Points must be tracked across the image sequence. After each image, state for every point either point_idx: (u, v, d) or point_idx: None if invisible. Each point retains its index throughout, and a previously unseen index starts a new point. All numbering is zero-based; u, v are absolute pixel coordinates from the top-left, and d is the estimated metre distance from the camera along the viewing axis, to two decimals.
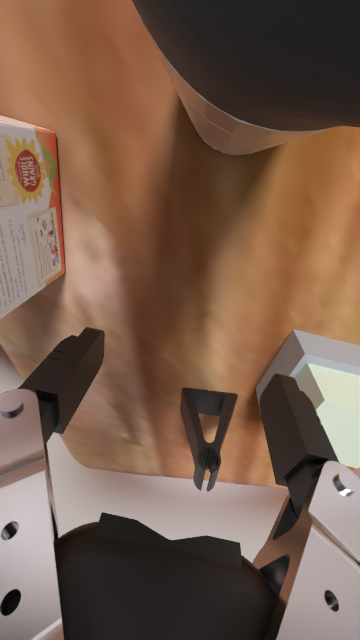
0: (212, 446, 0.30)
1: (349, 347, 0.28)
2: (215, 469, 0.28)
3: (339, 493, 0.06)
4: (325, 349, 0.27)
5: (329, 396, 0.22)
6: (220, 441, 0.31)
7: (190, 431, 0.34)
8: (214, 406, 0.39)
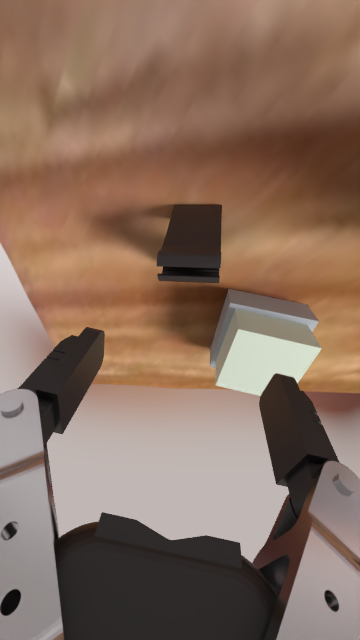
0: None
1: None
2: (218, 279, 0.22)
3: (339, 493, 0.06)
4: None
5: None
6: None
7: (197, 230, 0.25)
8: None
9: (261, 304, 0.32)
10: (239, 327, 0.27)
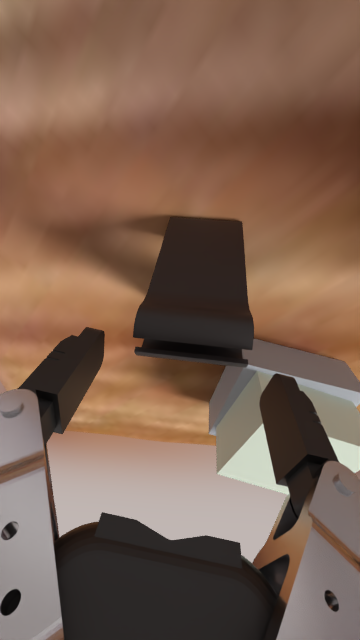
0: None
1: None
2: None
3: (339, 493, 0.06)
4: None
5: None
6: None
7: (205, 263, 0.15)
8: None
9: (287, 364, 0.23)
10: None
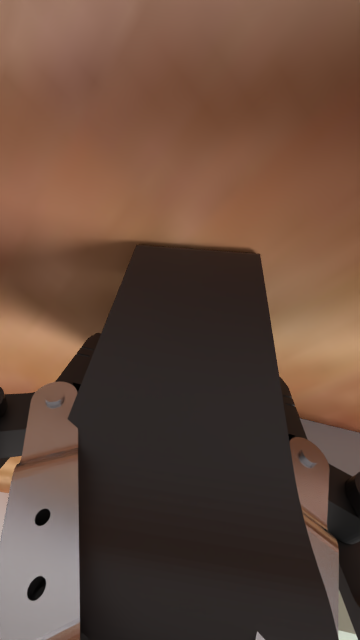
0: None
1: None
2: None
3: (301, 464, 0.07)
4: None
5: None
6: None
7: (195, 355, 0.07)
8: None
9: None
10: None
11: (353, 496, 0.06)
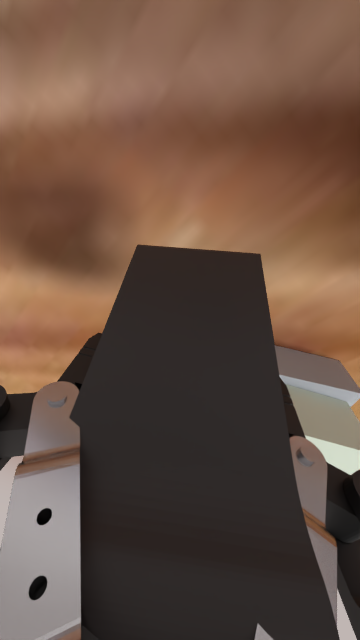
0: None
1: None
2: None
3: (299, 463, 0.07)
4: None
5: None
6: None
7: (195, 355, 0.07)
8: None
9: (282, 365, 0.22)
10: None
11: (351, 495, 0.06)
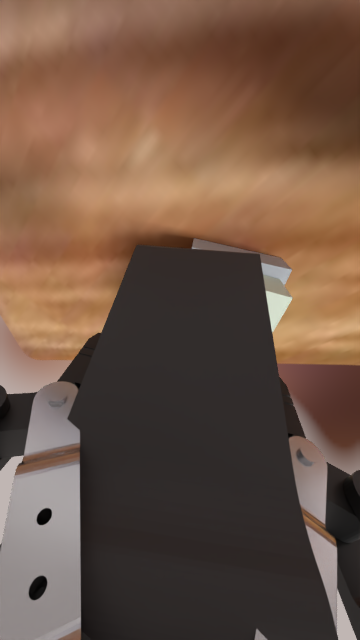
0: None
1: None
2: None
3: (299, 463, 0.07)
4: None
5: None
6: None
7: (194, 355, 0.07)
8: None
9: None
10: None
11: (351, 495, 0.06)
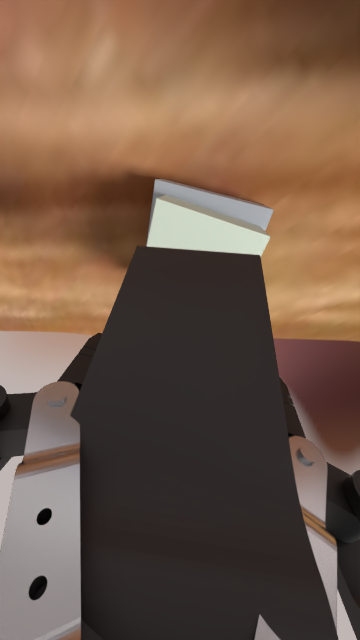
0: None
1: None
2: None
3: (299, 463, 0.07)
4: None
5: None
6: None
7: (195, 356, 0.07)
8: None
9: (200, 190, 0.24)
10: (158, 198, 0.19)
11: (351, 495, 0.06)
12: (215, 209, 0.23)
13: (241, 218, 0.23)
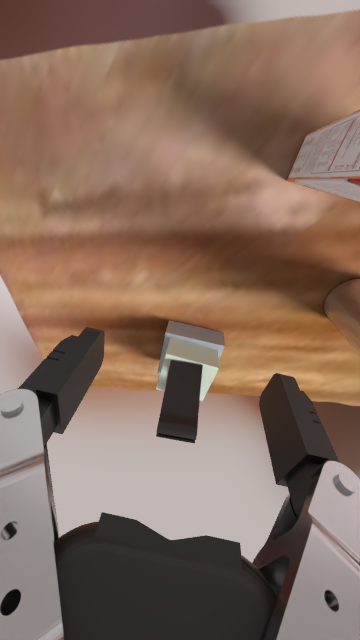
0: None
1: None
2: None
3: (339, 493, 0.06)
4: None
5: None
6: None
7: (184, 394, 0.38)
8: None
9: (188, 333, 0.46)
10: (167, 352, 0.42)
11: None
12: None
13: None
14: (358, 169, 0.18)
